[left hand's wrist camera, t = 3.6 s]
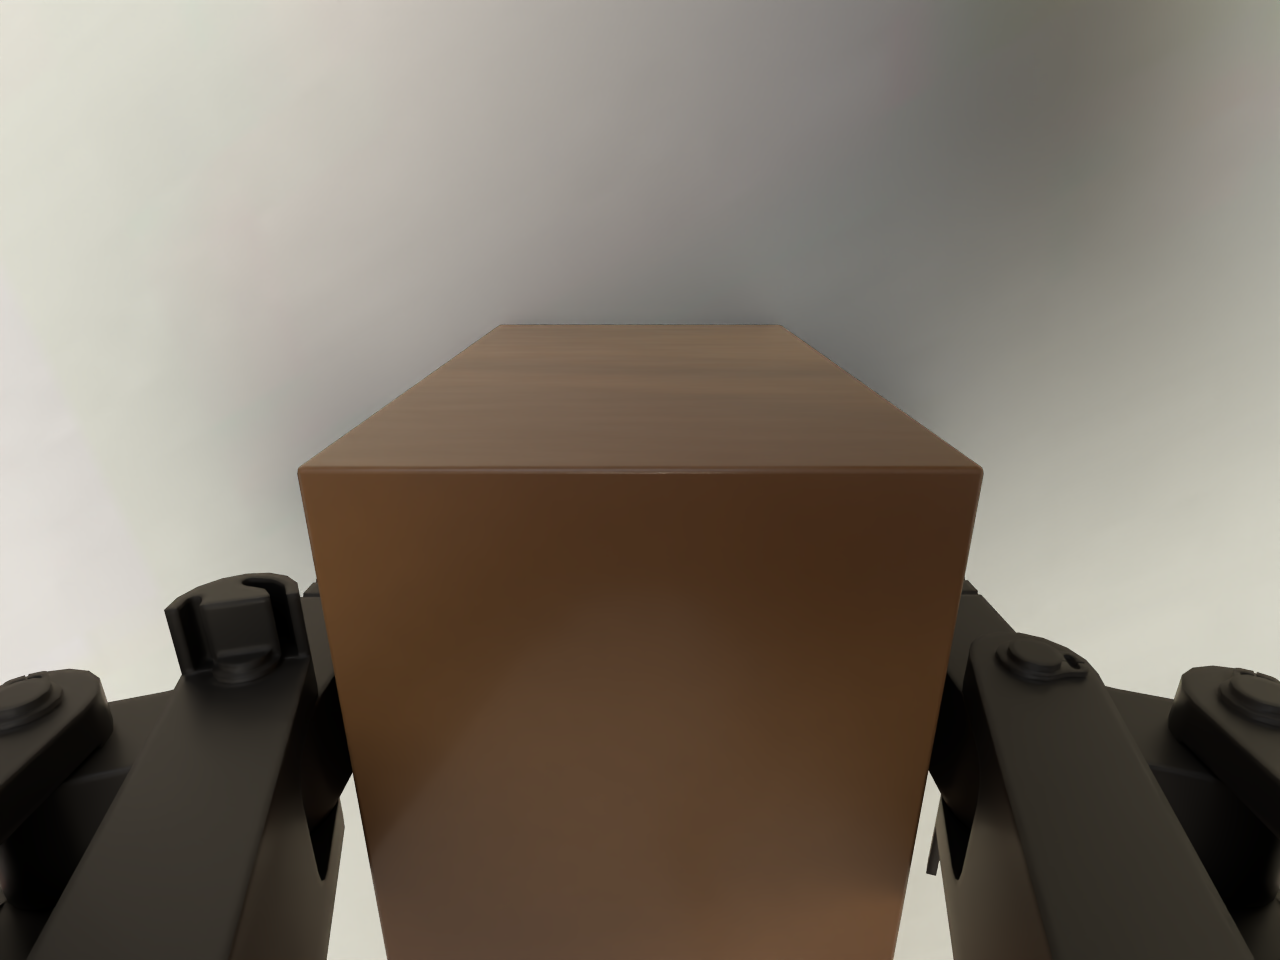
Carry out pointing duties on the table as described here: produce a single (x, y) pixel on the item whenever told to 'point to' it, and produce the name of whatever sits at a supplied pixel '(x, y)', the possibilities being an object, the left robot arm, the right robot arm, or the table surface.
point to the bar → (640, 645)
